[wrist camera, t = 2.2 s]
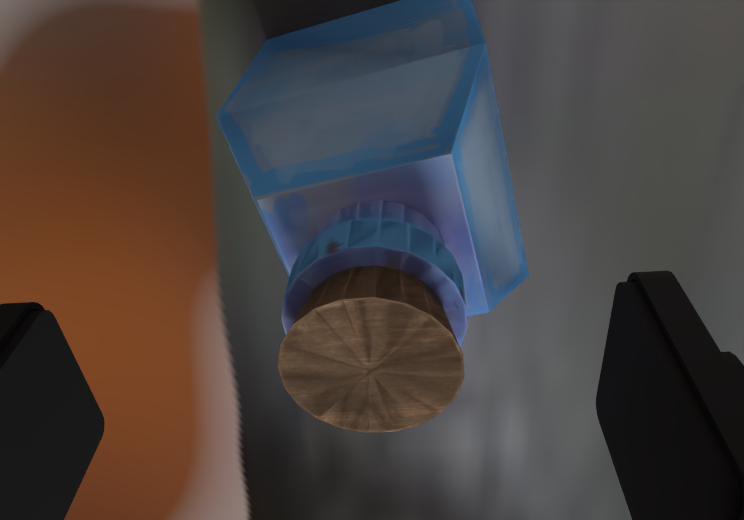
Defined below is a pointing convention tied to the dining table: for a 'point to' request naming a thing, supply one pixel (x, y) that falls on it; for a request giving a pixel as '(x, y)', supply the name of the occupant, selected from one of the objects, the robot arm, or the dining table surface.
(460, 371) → the perfume bottle
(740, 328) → the dining table surface
